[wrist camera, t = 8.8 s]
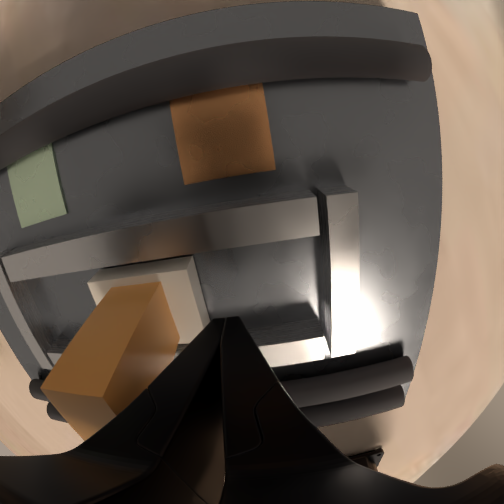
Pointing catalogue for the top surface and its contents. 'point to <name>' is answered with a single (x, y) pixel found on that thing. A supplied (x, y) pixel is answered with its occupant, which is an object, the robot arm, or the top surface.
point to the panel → (236, 196)
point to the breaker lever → (126, 339)
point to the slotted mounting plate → (225, 76)
